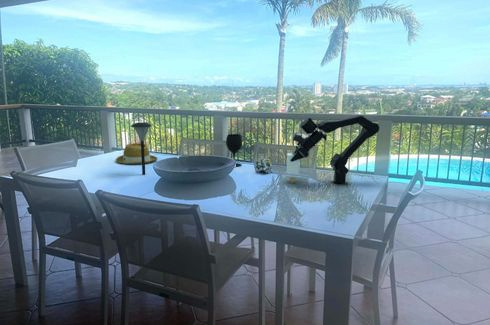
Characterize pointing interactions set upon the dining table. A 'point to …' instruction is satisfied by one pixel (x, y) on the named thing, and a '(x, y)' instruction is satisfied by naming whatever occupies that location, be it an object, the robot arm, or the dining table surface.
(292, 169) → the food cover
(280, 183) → the placemat
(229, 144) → the wine glass
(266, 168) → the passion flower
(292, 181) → the bowl
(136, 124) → the solar garden light
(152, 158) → the fedora
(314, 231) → the dining table surface
